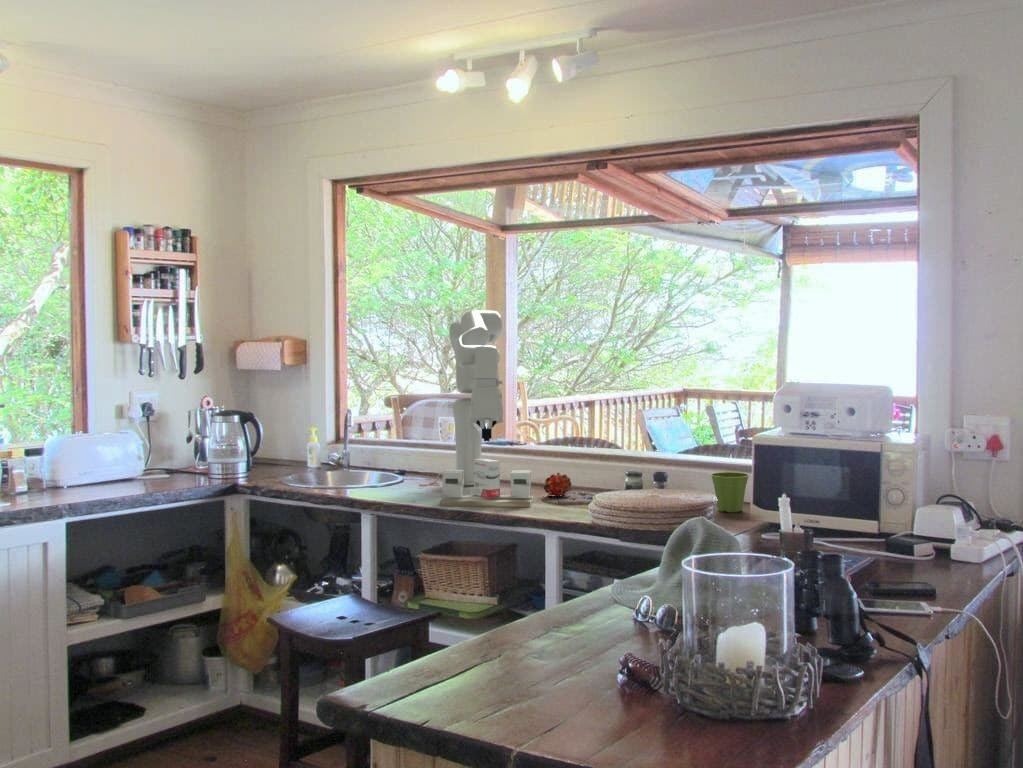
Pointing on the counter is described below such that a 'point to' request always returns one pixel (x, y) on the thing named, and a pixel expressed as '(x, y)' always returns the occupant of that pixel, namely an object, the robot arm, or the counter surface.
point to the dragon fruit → (557, 484)
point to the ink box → (487, 478)
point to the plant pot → (730, 490)
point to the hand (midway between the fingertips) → (486, 440)
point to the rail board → (456, 497)
